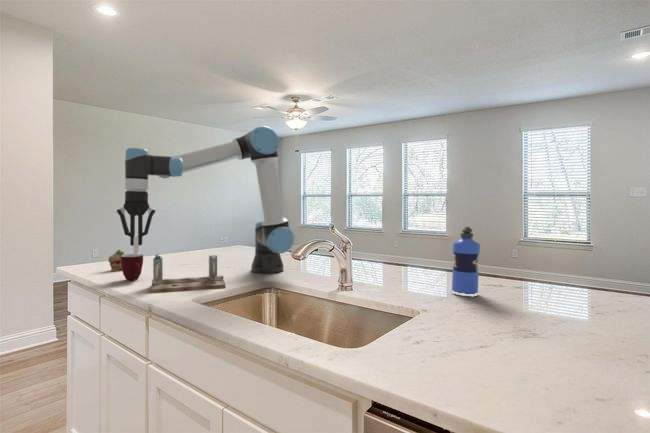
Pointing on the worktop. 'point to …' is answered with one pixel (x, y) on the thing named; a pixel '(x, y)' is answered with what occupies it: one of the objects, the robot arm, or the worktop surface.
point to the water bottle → (465, 263)
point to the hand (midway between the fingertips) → (136, 254)
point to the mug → (132, 266)
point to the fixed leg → (213, 266)
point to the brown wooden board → (187, 284)
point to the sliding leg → (157, 268)
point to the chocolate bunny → (116, 260)
